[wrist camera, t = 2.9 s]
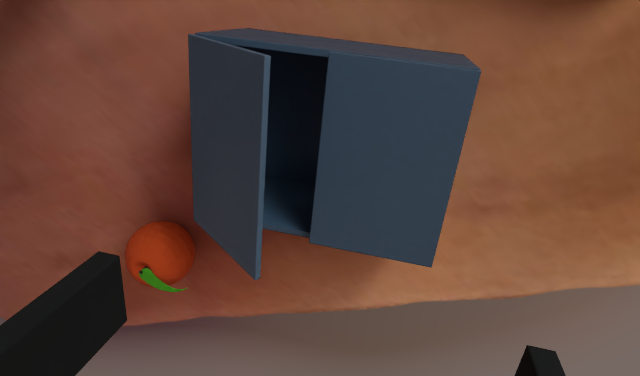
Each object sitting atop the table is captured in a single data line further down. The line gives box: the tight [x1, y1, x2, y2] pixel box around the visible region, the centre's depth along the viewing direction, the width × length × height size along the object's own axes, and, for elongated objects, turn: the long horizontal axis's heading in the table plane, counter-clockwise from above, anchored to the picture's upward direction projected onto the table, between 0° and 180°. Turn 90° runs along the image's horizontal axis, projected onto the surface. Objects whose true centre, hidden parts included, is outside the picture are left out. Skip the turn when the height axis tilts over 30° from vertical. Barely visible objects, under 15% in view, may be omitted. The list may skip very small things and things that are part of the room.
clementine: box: [125, 221, 195, 292], centre depth 44 cm, size 8×7×7 cm
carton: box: [195, 28, 481, 267], centre depth 33 cm, size 19×14×10 cm
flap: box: [188, 34, 271, 280], centre depth 27 cm, size 9×14×1 cm
